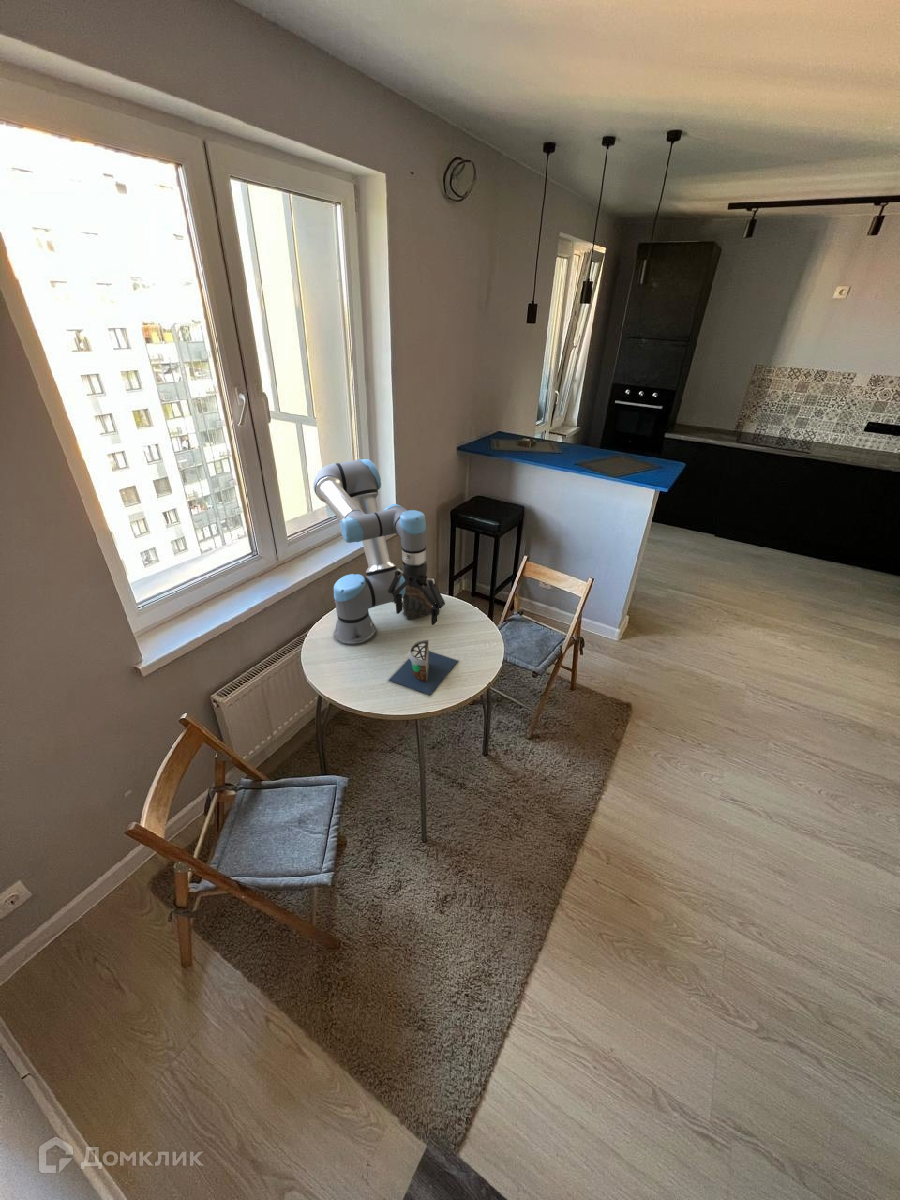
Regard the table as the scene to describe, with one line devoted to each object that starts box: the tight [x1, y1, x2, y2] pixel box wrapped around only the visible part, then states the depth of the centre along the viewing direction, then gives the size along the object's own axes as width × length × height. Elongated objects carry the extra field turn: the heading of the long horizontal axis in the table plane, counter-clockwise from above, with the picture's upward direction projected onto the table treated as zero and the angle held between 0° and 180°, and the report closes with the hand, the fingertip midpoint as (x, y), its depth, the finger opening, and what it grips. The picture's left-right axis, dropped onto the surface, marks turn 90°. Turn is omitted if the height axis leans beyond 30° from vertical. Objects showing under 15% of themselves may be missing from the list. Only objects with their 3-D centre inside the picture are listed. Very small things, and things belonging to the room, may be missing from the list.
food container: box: [408, 639, 430, 682], centre depth 166 cm, size 12×6×10 cm, turn 178°
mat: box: [388, 650, 459, 696], centre depth 170 cm, size 16×20×1 cm
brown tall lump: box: [401, 566, 433, 621], centre depth 198 cm, size 13×13×20 cm
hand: (416, 617), depth 163 cm, fingers open, 13 cm apart
